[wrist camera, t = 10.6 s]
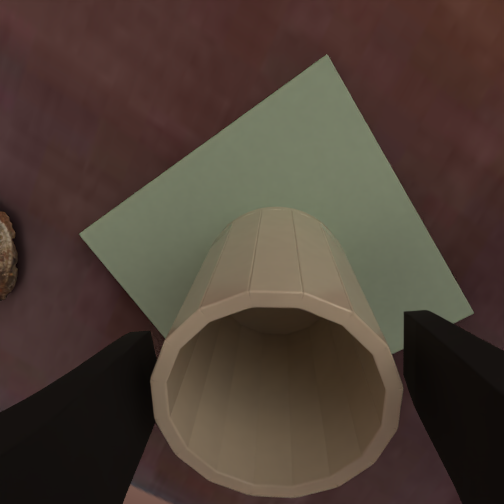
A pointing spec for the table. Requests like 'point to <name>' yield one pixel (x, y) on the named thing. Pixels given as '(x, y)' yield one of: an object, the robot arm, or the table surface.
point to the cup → (276, 363)
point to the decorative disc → (7, 256)
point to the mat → (282, 195)
